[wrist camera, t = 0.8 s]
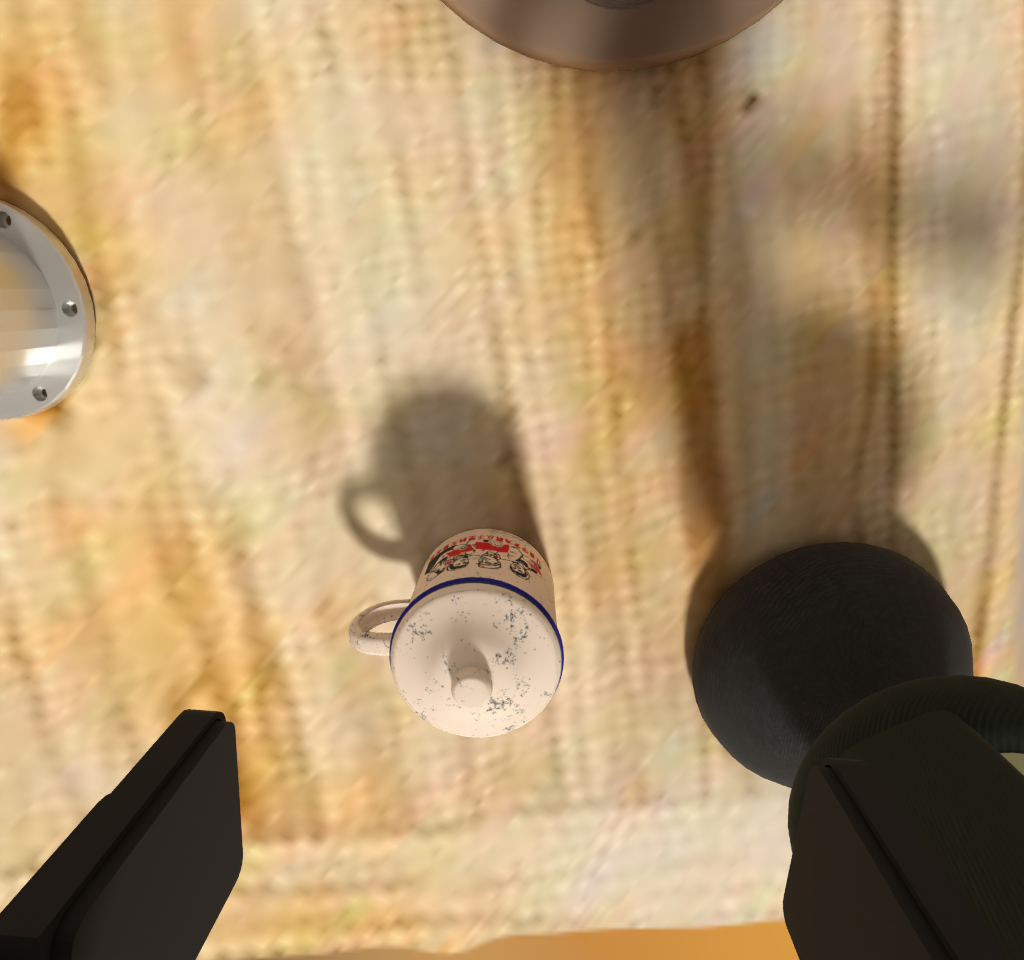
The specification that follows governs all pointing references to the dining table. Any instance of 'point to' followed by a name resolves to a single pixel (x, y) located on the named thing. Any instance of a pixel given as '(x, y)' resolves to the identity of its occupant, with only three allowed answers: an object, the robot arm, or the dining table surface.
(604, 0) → the cap
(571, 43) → the turntable
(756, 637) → the toy pedestal armchair
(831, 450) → the dining table surface
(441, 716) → the teacup with lid
